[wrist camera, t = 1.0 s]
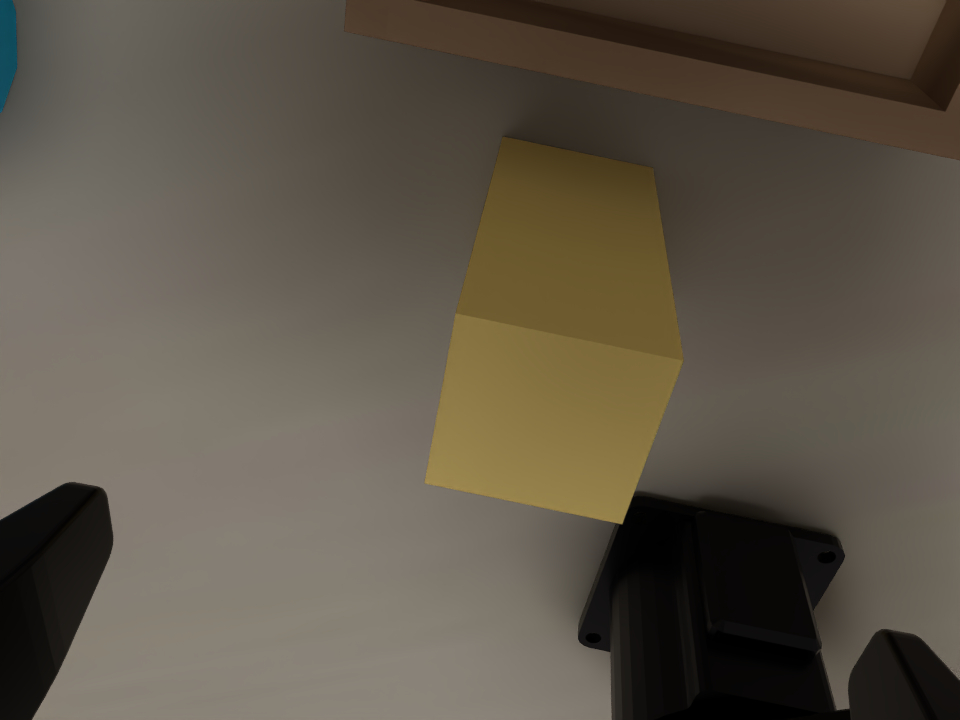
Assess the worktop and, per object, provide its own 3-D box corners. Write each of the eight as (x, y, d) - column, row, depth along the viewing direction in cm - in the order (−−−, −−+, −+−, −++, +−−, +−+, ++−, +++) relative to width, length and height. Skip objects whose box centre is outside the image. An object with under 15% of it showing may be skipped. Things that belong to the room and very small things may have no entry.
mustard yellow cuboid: (613, 298, 21) (621, 524, 15) (476, 269, 21) (424, 483, 15) (653, 168, 19) (683, 360, 13) (502, 136, 19) (455, 313, 13)
